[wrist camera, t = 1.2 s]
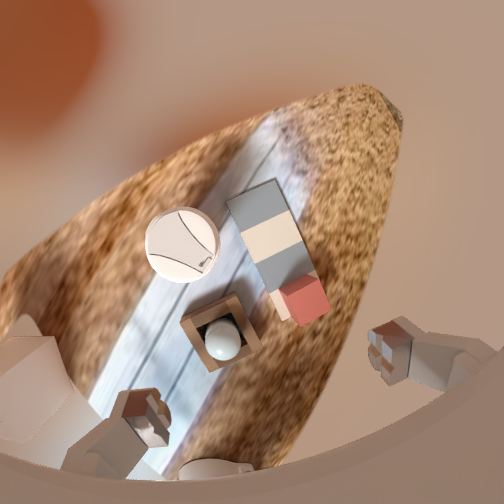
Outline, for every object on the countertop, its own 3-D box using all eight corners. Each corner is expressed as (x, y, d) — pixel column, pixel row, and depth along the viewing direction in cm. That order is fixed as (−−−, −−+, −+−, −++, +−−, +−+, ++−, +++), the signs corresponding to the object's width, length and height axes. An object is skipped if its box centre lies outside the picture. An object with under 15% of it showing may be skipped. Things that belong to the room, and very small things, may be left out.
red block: (318, 301, 42) (331, 309, 37) (291, 316, 42) (301, 326, 37) (306, 274, 41) (319, 279, 37) (278, 288, 41) (287, 296, 36)
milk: (32, 387, 36) (-32, 455, 10) (13, 336, 35) (-70, 388, 9) (74, 391, 38) (11, 478, 12) (54, 336, 37) (-37, 405, 11)
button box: (259, 340, 42) (263, 347, 39) (209, 364, 41) (209, 372, 38) (234, 291, 41) (236, 295, 38) (181, 316, 40) (179, 323, 37)
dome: (243, 339, 40) (249, 357, 33) (215, 352, 39) (216, 371, 33) (229, 312, 39) (232, 326, 33) (199, 326, 39) (198, 342, 32)
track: (325, 296, 43) (326, 297, 42) (281, 320, 42) (282, 321, 41) (273, 180, 40) (274, 179, 40) (225, 202, 40) (225, 201, 39)
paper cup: (228, 234, 40) (236, 235, 26) (198, 278, 40) (191, 300, 26) (184, 204, 39) (170, 188, 25) (155, 247, 39) (127, 254, 25)
